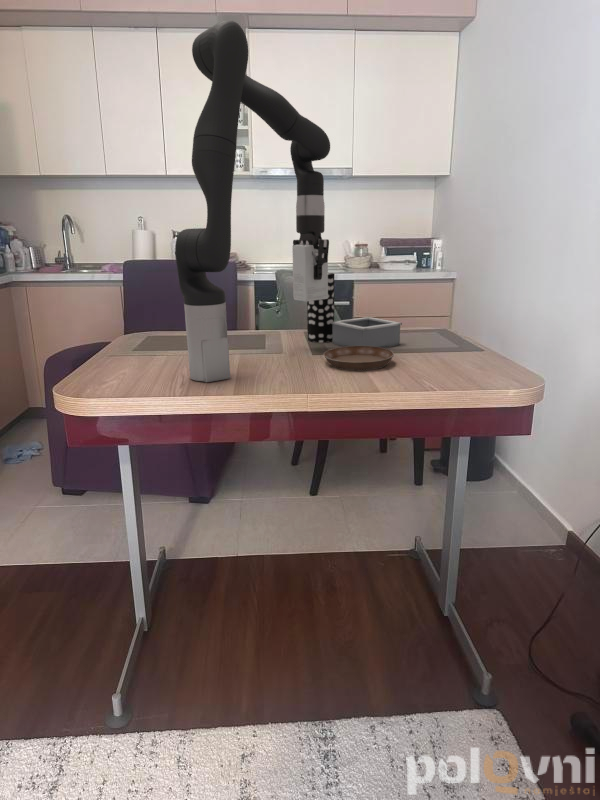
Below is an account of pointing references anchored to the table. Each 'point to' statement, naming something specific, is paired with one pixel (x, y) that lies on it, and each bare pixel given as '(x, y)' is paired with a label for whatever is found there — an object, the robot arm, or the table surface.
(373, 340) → the bin
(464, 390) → the table surface
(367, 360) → the plant saucer
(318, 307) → the white-spotted black cylinder
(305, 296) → the skincare box
